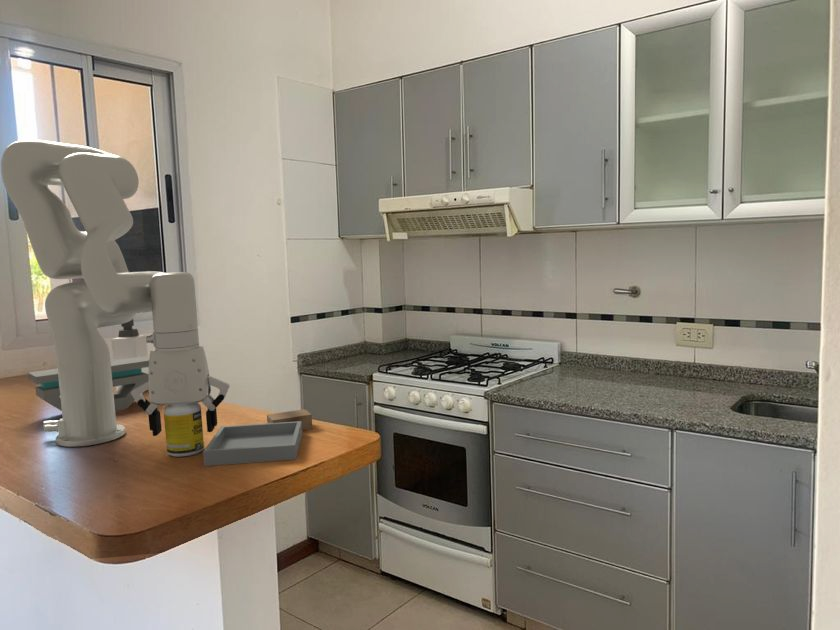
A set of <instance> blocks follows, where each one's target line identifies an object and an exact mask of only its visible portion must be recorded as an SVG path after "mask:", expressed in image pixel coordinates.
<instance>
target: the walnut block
mask: <svg viewBox="0 0 840 630" xmlns="http://www.w3.org/2000/svg"><path fill="white" fill-rule="evenodd" d="M312 415H313V414H312V413H310V412H309V411H308V410H306V409H305V408H303V409H295V410H291V411H284V412H277V413H270V414H266V422H267V423H280V422H296V421H302V431H307V430H312V429H313V417H312Z"/></svg>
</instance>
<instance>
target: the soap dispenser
mask: <svg viewBox="0 0 840 630" xmlns="http://www.w3.org/2000/svg"><path fill="white" fill-rule="evenodd" d="M134 321H135V320H134V318H133V319H132V320H131V321H129V322H127V323H123V324H120V325H121V326H120V327H122V328H123V329H119V331H118V336H117V337H114V338H111V339H110V340H111V350H112V351H111V352H112V361H114V360H122V359H129V358H136V357H143V358H146V359H149V358H148V357H149V356H148V355H149V354H148V345H147V344H148V343H147V342H146V336H147V335H146V334H140V333H139V330H138V328H133V326H134V325H135V324H134ZM141 369H142V372H143V373H146V374H148V376H149V367H145V368H141ZM119 388H120V386H115V392H116V391H117V390H118V389H119Z"/></svg>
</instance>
